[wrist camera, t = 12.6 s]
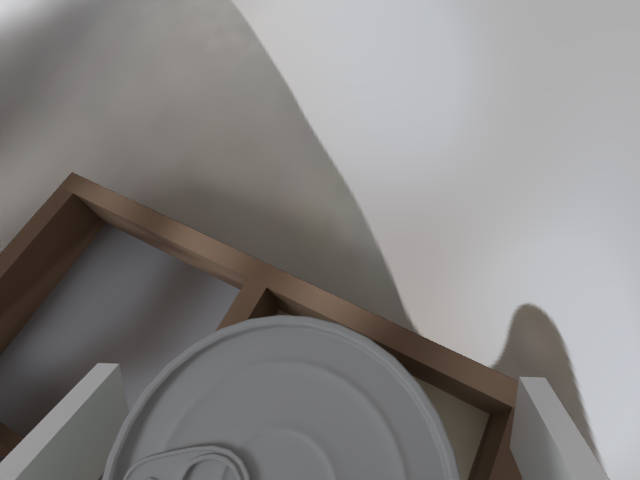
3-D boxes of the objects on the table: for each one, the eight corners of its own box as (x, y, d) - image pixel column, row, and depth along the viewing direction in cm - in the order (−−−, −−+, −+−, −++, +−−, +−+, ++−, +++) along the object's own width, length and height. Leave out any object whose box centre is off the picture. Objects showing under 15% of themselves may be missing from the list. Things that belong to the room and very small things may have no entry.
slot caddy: (-42, 408, 23) (-128, 398, 19) (114, 213, 28) (72, 172, 24) (402, 741, 16) (414, 838, 12) (511, 406, 21) (546, 394, 17)
